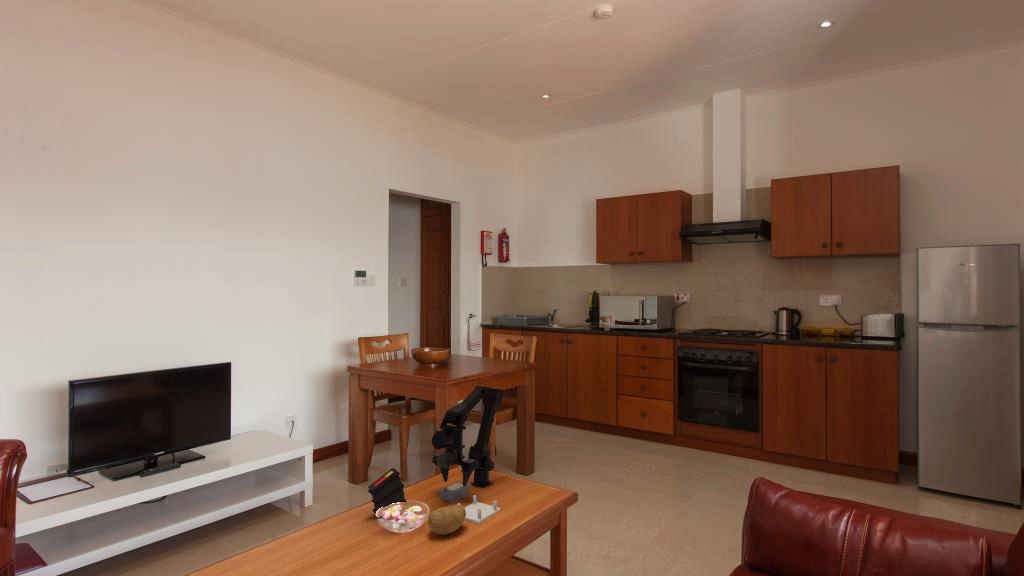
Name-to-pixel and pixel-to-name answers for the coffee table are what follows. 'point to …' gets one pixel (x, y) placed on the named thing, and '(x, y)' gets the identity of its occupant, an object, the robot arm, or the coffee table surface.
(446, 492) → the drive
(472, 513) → the white mounting plate
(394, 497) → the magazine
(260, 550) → the coffee table surface
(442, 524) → the potato
